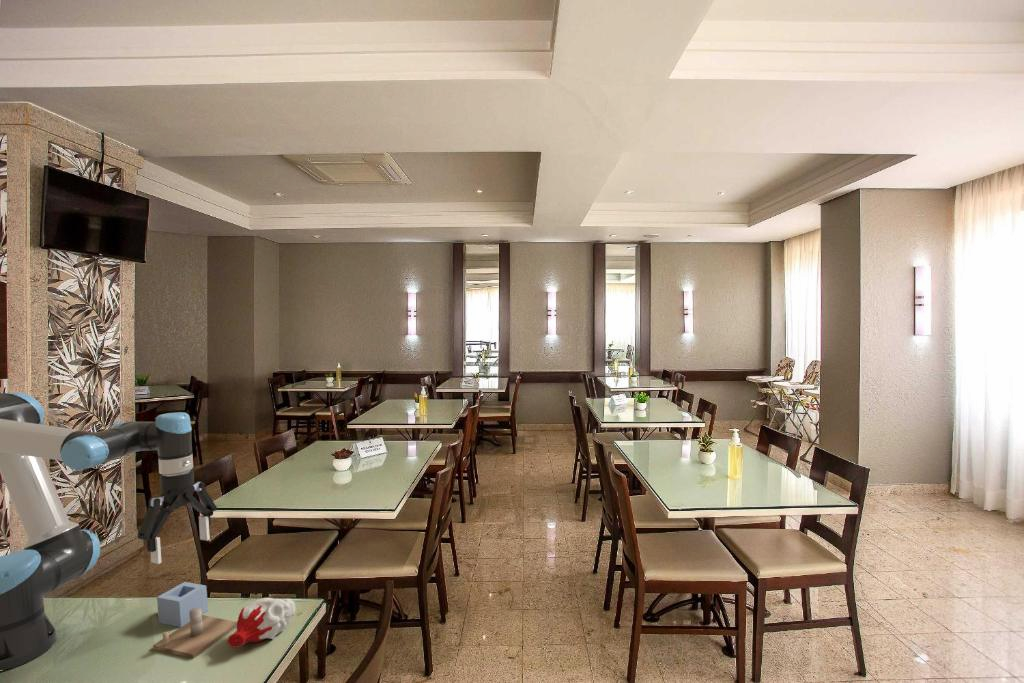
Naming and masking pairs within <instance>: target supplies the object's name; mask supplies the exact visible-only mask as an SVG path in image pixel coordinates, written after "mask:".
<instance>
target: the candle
mask: <svg viewBox="0 0 1024 683" xmlns="http://www.w3.org/2000/svg"><path fill="white" fill-rule="evenodd" d="M296 610H297V607H296V602H295V600H293V599H292V598H282V599H279V598H272V597H262V598H259V599H256V600H255V601H253V602H251V603H249V604H248V605H246V606H245V607H242V609H241V610H240V612H239V615H238V618H237V620H236V622H237V627H236V630H235V631H234V632H233V633H232V634H230V636H228V638H227V640H226V641H227V644H228V645H229V646H231V647H232V648H234V647H237V648H239V647H241V646H244V645H245V644H246V643H259V642H261V641H264V640H265V639H271V640H274V638H275V637H276V636H277V635H278V634H280V633H281V632H282V631H283V630H285V629H286V628H287V627H288V625H289V624H290V623H291V619H292V618H293V617H294V616H295V614H296Z"/></svg>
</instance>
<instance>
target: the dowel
mask: <svg viewBox="0 0 1024 683" xmlns="http://www.w3.org/2000/svg"><path fill="white" fill-rule="evenodd" d="M169 635H170V633H169V632H168V631H165V632H163V633H162V639H163V646H164V647H166V646H168V645H169Z"/></svg>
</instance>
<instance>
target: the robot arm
mask: <svg viewBox="0 0 1024 683" xmlns="http://www.w3.org/2000/svg"><path fill="white" fill-rule="evenodd" d="M44 419H45V412H44V409H43V406H42V404H41V403H40V402H39V401H38V400H37V399H36V398H35V397H33V396H31V395H29V394H26V393H24V392H3V393H0V475H1V477H2V480H3V482H4V484H5V487H6V489H7V492H8V493H9V494H8V495H9V496H10V498H11V501H12V503H13V506H14V507H15V510H16V513H17V515H18V518H19V519H20V522H21V524H22V527H23V529H24V531H25V534H26V536H27V541H26V542H25V544H24V546H23V550H19V551H14V552H11V553H9V554H4V555H2V556H0V670H5V669H8V670H10V669H9V668H11V669H14V668H16V667H20V666H22V665H24V664H26V663H28V662H30V661H32V660H34V659H36V658H39V657H40V656H42V655H43V654H45V653H46V652H47V651H48V649H49V648H50V649H51V648H52V647H53V646H54V645H55V644H56V642H57V639H56V638H57V631H56V627H54V624H53V623H52V622H51V621H52V620H50V618H49V616H47V614H46V611H45V600H44V599H45V598H44V597H45V596H47V595H49V594H50V593H52V592H54V591H56V590H57V589H60V588H61V587H63V586H64V585H66V584H68V583H70V582H71V581H73V580H76V579H78V578H80V577H82V576H83V575H84V574H85V573H87V572H88V571H90V570H91V569H92V568H93V567H94V566H95V565H96V564H97V561H98V560H99V557H100V554H101V544H100V540H99V538H98V537H97V536H96V534H95V533H93V532H92V533H91V531H90V530H88V529H81V526H80V524H79V523H77V522H72V521H71V520H69V517H68V514H67V511H66V509H65V507H64V506H63V503H62V500H61V499H60V496H59V493H58V491H57V489H56V486H55V484H54V482H53V479H52V477H51V475H50V472H49V470H48V467H47V465H46V463H45V461H44V460H45V459H49V460H54V461H55V460H56V461H61V462H62V463H63V465H65V466H67V467H68V468H69V469H71V470H75V471H83V470H86V469H91V468H95V467H97V466H100V465H102V464H105V463H107V462H110V461H113V460H115V459H119V458H121V457H125V456H128V455H131V454H134V453H136V452H142V451H144V452H145V451H157V456H158V460H157V461H158V473H159V474H160V476H159V487H160V490H161V496H158V497H150V498H149V500H148V508H147V510H146V513H145V515H144V518H143V521H142V524H141V526H140V529H139V532H138V534H137V539H138V540H144V541H146V547H147V548H146V549H147V552H148V553H149V552H150V563H153V564H157V565H159V564H161V563H162V552H161V551H162V549H161V538H160V537H159V534H160V532H161V530H162V529H163V526H164V525H165V524H166V521H168V518H169V517H170V515H171V514H172V513H173V512H174V511H175V510H177V509H180V508H181V507H184V506H187V505H189V506H190V507H192V508H193V509H194V510H195V511H196V512H198V513H199V514H200V515H199V516H198V528H199V529H198V531H199V540H200V541H207V542H208V541H210V538H211V537H210V527H211V523H212V522H211V517H213V515H214V512H215V511H217V510H218V506H217V505H216V504H215V502H214V501H213V499H212V498H211V496H210V494H209V492H208V491H207V489H206V484H205V482H204V481H203V482H202V481H195V473H194V472H195V471H194V470H193V468H194V460H193V458H194V457H193V446H192V444H193V443H192V430H193V429H192V424H191V417H190V415H189V414H188V413H187V412H183V411H182V412H181V411H179V412H167V413H163V414H159V415H157V416H156V418H155V421H134V420H131V421H122V422H118V423H116V424H114V425H113V426H112V427H111V428H109V429H103V430H101V431H97V432H96V431H87V430H80V429H75V428H74V429H72V428H66V427H59V426H53V425H48V424H46V425H45V424H44ZM195 492H196V495H197V496H198V498H199V499H200V501H201V502H200V501H199V500H198V499H197V498H196V497H195V496H194V495H193V494H194V493H195ZM202 503H203V504H202ZM54 643H55V644H54ZM53 644H54V645H53ZM52 645H53V646H52ZM51 646H52V647H51ZM50 649H49V650H50ZM5 671H6V670H5Z"/></svg>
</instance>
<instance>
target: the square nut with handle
mask: <svg viewBox="0 0 1024 683" xmlns="http://www.w3.org/2000/svg"><path fill="white" fill-rule="evenodd" d="M156 602H157V604H156V605H157V615H158V616H157V617H158V623H159V624H164V625H169V626H174V627H176V628H181V627H182V626H184V625H185V624H187V623H188V622H190V614H189V612H190V610H192V609H194V608H198V607H200V608H201V610H202V615H204V613H206V612H207V611H209V605H208V591H207V585H204V584H201V583H193V582H189V581H188V582H187V581H183V582H181V583H180V584H178V585H176V586H175V587H173V588H171V589H169V590H168V591H165V592H164V593H162V594H160V595H158V596H156Z"/></svg>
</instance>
